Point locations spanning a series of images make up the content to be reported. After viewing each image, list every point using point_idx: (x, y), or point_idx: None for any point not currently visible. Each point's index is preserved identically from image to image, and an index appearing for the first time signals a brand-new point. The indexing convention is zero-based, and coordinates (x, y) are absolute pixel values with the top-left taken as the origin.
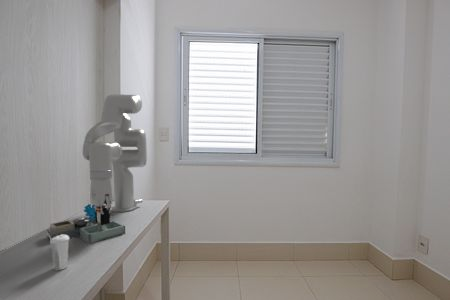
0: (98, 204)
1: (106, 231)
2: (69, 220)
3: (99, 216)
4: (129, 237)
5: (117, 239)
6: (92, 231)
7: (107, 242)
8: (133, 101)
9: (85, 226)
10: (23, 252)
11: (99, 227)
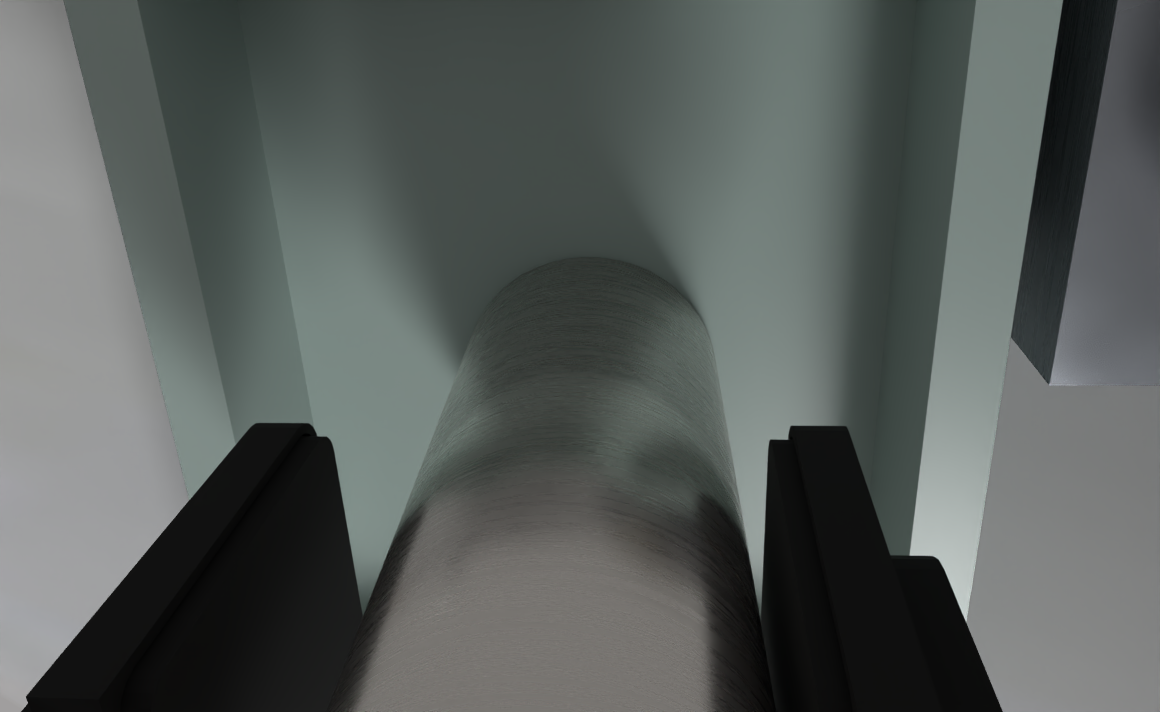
0: None
1: (178, 405)
2: None
3: (390, 619)
4: (53, 632)
5: (74, 455)
6: (900, 220)
7: (10, 254)
8: None
9: (1139, 90)
10: None
11: (483, 365)
